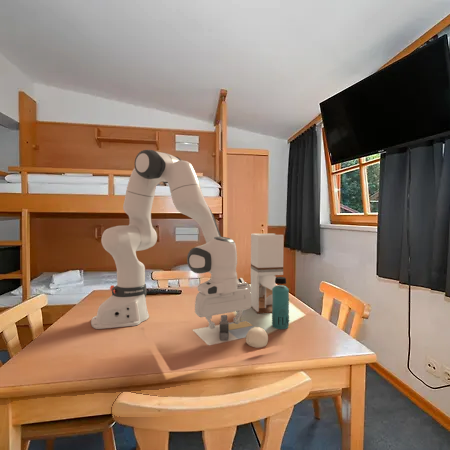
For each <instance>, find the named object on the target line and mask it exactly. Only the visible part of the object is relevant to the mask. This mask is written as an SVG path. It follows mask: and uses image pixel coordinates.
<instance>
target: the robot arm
mask: <svg viewBox="0 0 450 450" xmlns="http://www.w3.org/2000/svg"><path fill="white" fill-rule="evenodd" d="M160 183H163V184H166V185H167V184H168V187H169V192H170V196H171V200H172V203H173V205H174V208H175V209H176V210H177V211H178V212H179V213H181V214H182V215H185V216H187V217H188V218H191V219H192V220H193V221H195V222H196V223H197V224H198V225H199V227H200V229H201V233H202V235H203V237H204V241H205V243H204V244H202V245H197V246H195V247H193V248H191V249H190V250H189V252H188V253H187V256H186V263H187V266H188V268H189V269H190V271H191V272H192V273H194V274H202V275H203V274H206V273H209V274H210V279H208V280H206V281H204V282H202V283H200V284H198V285H197V287H196V288H197V291H198V293H197V294H196V296H195V300H194V313H195V314H196V315H197V317H199V318H205V319H206V320H207V322H208V327H209V328H210V329H212V328H215V325H216V323H215V322H214V321H212V319H213V316H217V315H225V314H229V313H235V312H236V315H235V316H234V317H233V322H234V323H235V324H238V323H240V321H241V320H240V319H241V317H242V315H243V312H244V311H246V310H250V309H252V307H251V306H252V300H251V294H250V293H251V284H249V283H248V282H245V281H244V283H237V279H238V273H237V267H238V266H237V265H238V253H237V252H238V251H237V246H236V245H237V244H236V242H235V241H234V240H233V238H231V237H225V236H221V233H220V230H219V227H218V225H217V222H216V219H215V216H214V213H213V212H212V210H211V208H210V207H209V205H208V203H207V201H206V199H205V197H204V194H203V192H202V188H201V184H200V182H199V179H198V176H197V172H196V170H195V169H194V166H193V165H192V163H191V162H189V161H187V160H183V159H181V158H179V157H178V156H174V155H172V154H170V153H167V152H160V151H157V150H153V149H143V150H141V151H139V152H138V153H137V154H136V157H135V160H134V167H133V169H132V171H131V174H130V177H129V178H128V183H127V186H126V192H125V196H124V201H123V205H122V209H123V211H124V213H125V214H126V215H127V216H128V219H129V224H128V225H127V224H126V225H116V226H111V227H108V228H107V229H105V230H104V231H103V233H102V235H101V239H100V240H101V245H102V248H103V249H104V250H105V252H107V253H109V254H110V256H111V257H112V258H113V260H114V263H115V267H116V284H115V285H110V287H109V290H110V291H111V295H110V296H109V297H108V298H107V299H106V300H104V301H103V302H102V303H101V304H100V305H99V307H98V308H97V313H96V315H95V316H93V317H92V318H91V320H90V324H91V325H90V326H91V327H92V328H93V329H96V330H103V329H111V328H112V329H113V328H122V327H135V326H138V325H140V324H141V323H142V322H144V321H146V320H148V319H149V318H150V314H149V312H148V307H147V299H146V298H147V284H146V266H145V264H144V263H143V262H141V261H140V260H139V259H138V257H137V252H138V251H145V250H148V249H150V248H152V247H154V246H155V245H156V243H157V240H158V233H157V232H156V229H155V228H154V226H153V224H152V209H153V205H154V199H155V193H156V188H157V187H158V185H159V184H160Z"/></svg>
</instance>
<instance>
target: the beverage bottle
mask: <svg viewBox="0 0 450 450" xmlns="http://www.w3.org/2000/svg"><path fill="white" fill-rule="evenodd" d="M275 277H276V278H275V283H276V286H275V287H273V289H272V313H271V326H272V328H274V329H277V330H286V329H288V328H289V326H290V325H289V323H290V316H289V314H290V294H289V293H290V292H289V291H290V290H289V288H288V287H287V286H286V284H287V278H286V277H284V276H275Z"/></svg>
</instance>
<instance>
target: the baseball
mask: <svg viewBox="0 0 450 450" xmlns="http://www.w3.org/2000/svg"><path fill="white" fill-rule="evenodd" d="M245 341H246V343H245V344H247V346H250V347H253V348H257V349H258V348H260V349H262V348H264V347H266V346H267V344H268V343H269V342H268V341H269V336H268V333H267V332H266V330H265V329H264V328H262V327H260V326H254V327H253V328H251V329H250V330H249V331H248V333H247V334H246V338H245Z"/></svg>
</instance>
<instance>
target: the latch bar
mask: <svg viewBox="0 0 450 450" xmlns="http://www.w3.org/2000/svg"><path fill="white" fill-rule="evenodd" d="M229 323H230V322H229V320H227V321H221V320H220V321H219V325H220V340H228V339H229Z"/></svg>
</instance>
